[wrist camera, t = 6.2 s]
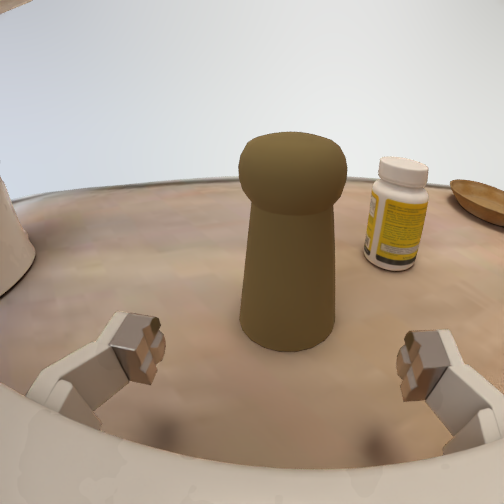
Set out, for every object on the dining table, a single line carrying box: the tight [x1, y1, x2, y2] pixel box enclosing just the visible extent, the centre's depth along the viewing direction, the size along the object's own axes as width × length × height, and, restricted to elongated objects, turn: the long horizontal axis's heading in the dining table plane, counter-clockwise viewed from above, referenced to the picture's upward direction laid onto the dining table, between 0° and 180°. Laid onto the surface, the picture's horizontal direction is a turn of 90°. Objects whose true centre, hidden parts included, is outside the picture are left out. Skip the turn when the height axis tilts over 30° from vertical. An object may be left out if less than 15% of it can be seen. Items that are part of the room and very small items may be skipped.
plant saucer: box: [450, 180, 504, 227], centre depth 33 cm, size 15×15×3 cm
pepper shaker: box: [238, 132, 347, 351], centre depth 16 cm, size 6×6×11 cm
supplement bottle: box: [364, 157, 429, 271], centre depth 22 cm, size 5×5×8 cm
